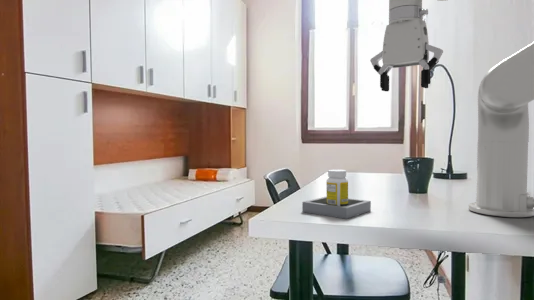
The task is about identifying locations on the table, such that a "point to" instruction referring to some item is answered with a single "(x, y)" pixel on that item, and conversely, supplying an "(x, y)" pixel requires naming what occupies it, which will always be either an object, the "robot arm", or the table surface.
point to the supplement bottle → (337, 188)
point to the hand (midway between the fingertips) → (404, 89)
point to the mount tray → (336, 208)
